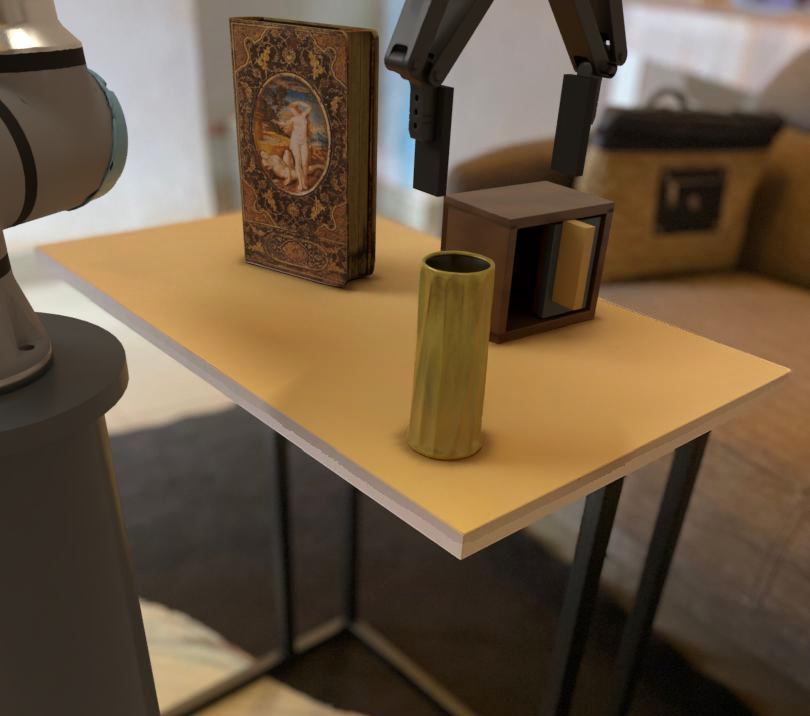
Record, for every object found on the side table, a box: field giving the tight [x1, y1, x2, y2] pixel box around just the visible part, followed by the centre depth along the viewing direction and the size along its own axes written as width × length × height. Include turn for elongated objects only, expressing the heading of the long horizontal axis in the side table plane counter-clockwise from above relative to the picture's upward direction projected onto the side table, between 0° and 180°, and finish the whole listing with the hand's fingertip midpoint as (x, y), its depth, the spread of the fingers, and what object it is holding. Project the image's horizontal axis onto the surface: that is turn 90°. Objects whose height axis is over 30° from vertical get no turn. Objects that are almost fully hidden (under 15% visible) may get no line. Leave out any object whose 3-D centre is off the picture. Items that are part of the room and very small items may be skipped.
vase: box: [405, 250, 495, 461], centre depth 62 cm, size 6×6×14 cm
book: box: [228, 16, 380, 288], centre depth 92 cm, size 16×6×25 cm, turn 57°
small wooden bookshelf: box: [439, 180, 616, 344], centre depth 87 cm, size 10×14×12 cm
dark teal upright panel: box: [537, 215, 601, 318], centre depth 84 cm, size 4×6×10 cm, turn 126°
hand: (501, 182), depth 61 cm, fingers open, 13 cm apart
